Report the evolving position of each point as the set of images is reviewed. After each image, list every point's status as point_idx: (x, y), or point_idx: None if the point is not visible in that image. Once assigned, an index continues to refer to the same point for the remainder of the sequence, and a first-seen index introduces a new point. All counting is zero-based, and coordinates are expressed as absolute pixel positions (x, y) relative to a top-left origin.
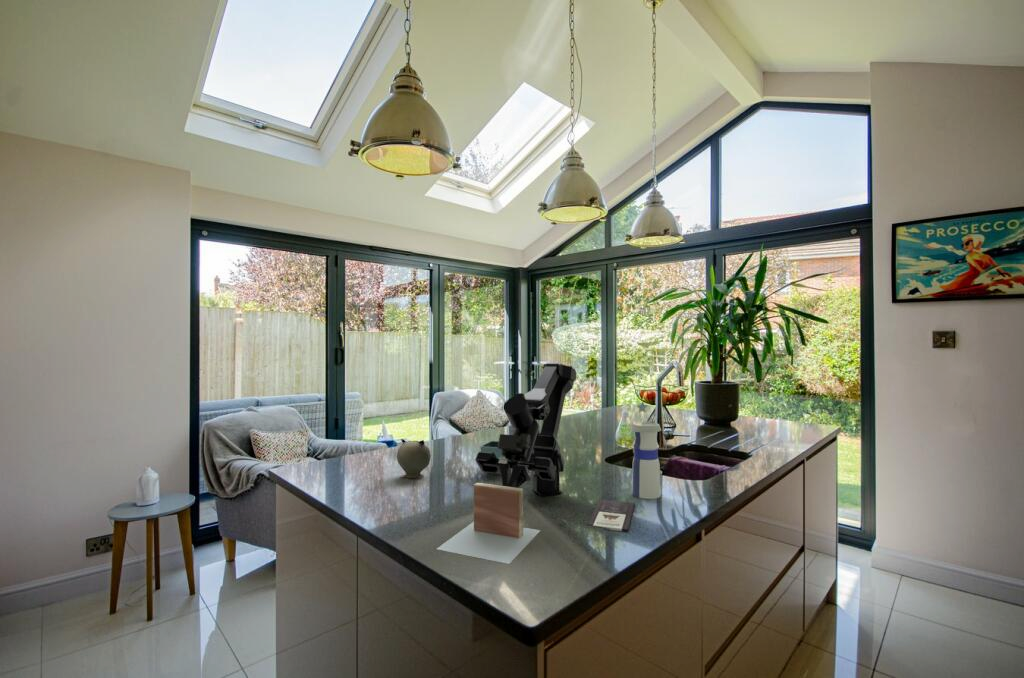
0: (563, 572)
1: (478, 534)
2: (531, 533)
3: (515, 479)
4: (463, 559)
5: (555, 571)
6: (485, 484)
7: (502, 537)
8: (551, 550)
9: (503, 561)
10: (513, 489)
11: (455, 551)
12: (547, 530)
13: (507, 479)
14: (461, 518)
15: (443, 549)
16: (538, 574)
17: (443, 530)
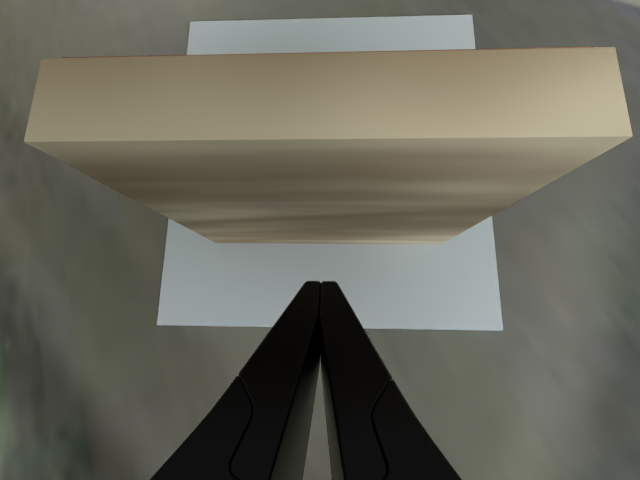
0: (24, 56)
1: None
2: (186, 275)
3: (193, 431)
4: (349, 10)
5: (48, 53)
6: (495, 108)
7: None
8: (84, 178)
9: (213, 28)
10: (119, 80)
11: (397, 25)
12: (136, 358)
13: (335, 441)
14: (589, 338)
15: (445, 21)
16: (94, 19)
17: (568, 177)
